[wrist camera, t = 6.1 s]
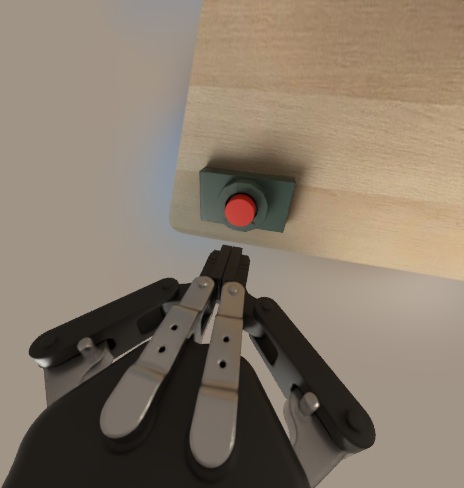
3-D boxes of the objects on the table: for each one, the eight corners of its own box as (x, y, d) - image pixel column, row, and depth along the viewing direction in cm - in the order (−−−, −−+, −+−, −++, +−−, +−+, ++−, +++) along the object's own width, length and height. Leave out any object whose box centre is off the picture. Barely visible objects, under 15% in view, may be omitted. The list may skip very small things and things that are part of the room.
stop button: (227, 218, 26) (224, 224, 24) (228, 191, 24) (225, 196, 22) (253, 222, 25) (252, 228, 24) (257, 195, 23) (256, 201, 22)
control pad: (205, 214, 30) (196, 226, 27) (204, 167, 26) (194, 174, 23) (282, 225, 29) (283, 239, 25) (294, 177, 25) (297, 187, 21)
